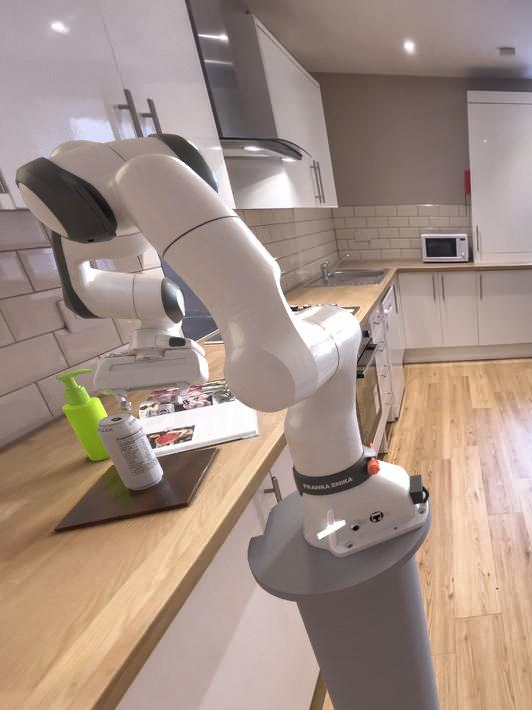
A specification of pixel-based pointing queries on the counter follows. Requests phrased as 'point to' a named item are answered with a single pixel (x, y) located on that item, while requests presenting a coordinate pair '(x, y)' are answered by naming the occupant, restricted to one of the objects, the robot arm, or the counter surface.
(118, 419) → the energy drink can
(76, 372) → the soap dispenser
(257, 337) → the robot arm
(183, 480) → the coaster board
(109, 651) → the counter surface
